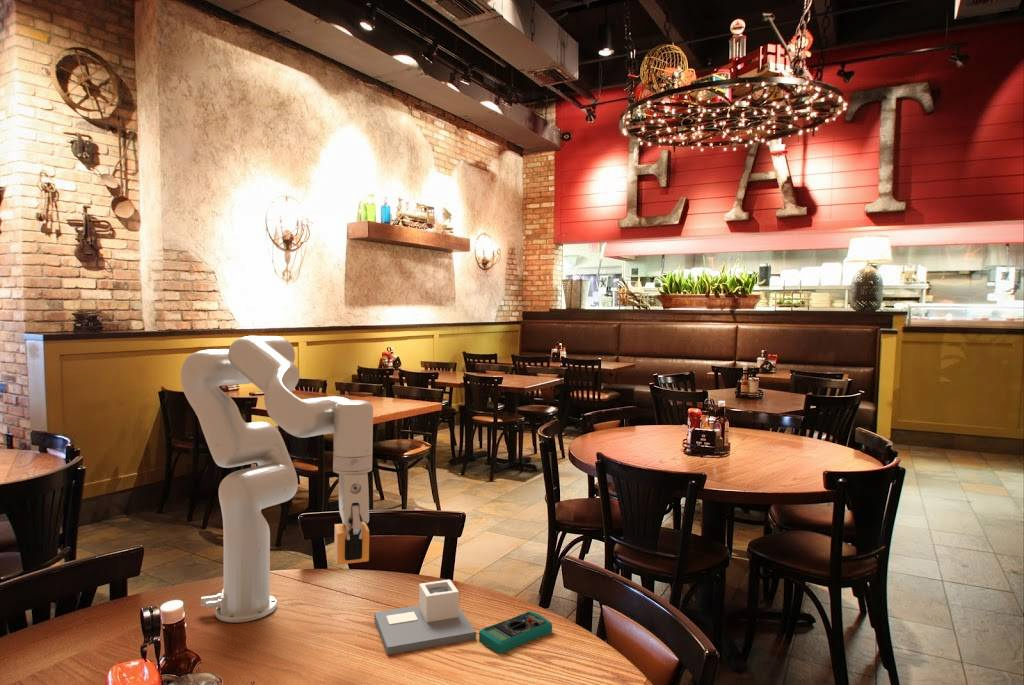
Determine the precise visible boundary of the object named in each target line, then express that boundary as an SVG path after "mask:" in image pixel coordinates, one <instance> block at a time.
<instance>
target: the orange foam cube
mask: <svg viewBox="0 0 1024 685" xmlns="http://www.w3.org/2000/svg"><path fill="white" fill-rule="evenodd" d="M361 523H362V524H361V527H362V558H361V559H356V560H345V539H347V531H346V525H345V524H342V523H334V540H333V542H334V543H333V544H334V548H333V550H334V552H333V554H334V558H335V562H336V565H345V564H354V563H363V562H365V563H366V562H369V560H370V530H369V526H368V524H367V523H365V522H363V521H361ZM351 529H352V526H351V527H350V530H351Z"/></svg>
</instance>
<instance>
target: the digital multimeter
mask: <svg viewBox="0 0 1024 685" xmlns="http://www.w3.org/2000/svg"><path fill="white" fill-rule="evenodd" d="M552 633H553V623H552V622H551V621H549V620H548V619H547V618H545V617H544V616H542V615H540V614H539V613H536V612H534V611H530V610H529V611H526V612H524V613H521V614H519V615H517V616H515V617H512V618H509V619H506V620H503V621H500V622H498V623H495V624H492V625H490V626H487V627H484V628H481V629H480V630H478V640H479V642H481V643H482V644H483V645H485V646H486V647H488V648H489V649H491V650H493V651H494V652H496V653H497V654H499V655H500V654H501V655H502V654H504V653H506V652H509V651H511V650H513V649H516V648H518V647H520V646H522V645H524V644H528V642H529V643H530V642H532V641H534V640H537V639H539V638H542V637H546V636H548V635H550V634H552Z"/></svg>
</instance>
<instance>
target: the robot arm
mask: <svg viewBox="0 0 1024 685" xmlns="http://www.w3.org/2000/svg"><path fill="white" fill-rule="evenodd" d="M295 360H296V351H295V348H294V346H293V345H292V343H291V342H290V341H289V340H288V339H286V338H284V337H282V336H278V335H248V336H247V335H246V336H243V337H242V336H241V337H239V338H238V339H236V340H234V341H233V342H232V343H231V344H230V345H229V348H222V349H221V348H219V349H218V348H213V349H204V350H198V351H196V352H193V353H191V354H189V355H188V356H187V357H186V358H185V359H184V361H183V363H182V365H181V370H180V384H181V389H182V392H183V393H184V395H185V398H186V399H187V401H188V403H189V405H190V406H191V408H192V410H193V411H194V412H195V415H196V416H197V418H198V421H199V424H200V427H201V431H202V433H203V435H204V438H205V441H206V443H207V446H208V449H209V452H210V454H211V456H212V459H213V462H214V463H215V464H216V465H217V466H218V467H220V468H226V469H230V468H237V467H241V466H245V465H251V464H257V466H252V467H247V468H241V469H239V470H236V471H233V472H231V473H229V474H227V475H226V476H225V477H224V478H223V479H222V480H221V481H220V483H219V487H218V499H219V500H218V501H219V505H220V511H221V515H222V527H223V531H222V532H223V538H222V539H223V540H222V541H223V573H222V575H223V580H222V581H223V588H222V590H221V592H217V593H216V595H203V596H201V597H200V607H203V606H205V609H206V610H207V609H212V608H215V617H216V618H217V619H218V620H220V621H221V622H226V623H247V622H250V621H251V622H252V621H255V620H259V619H261V618H264V617H267V616H268V615H270V614H272V613H273V612H274V611H275V610H276V609H277V606H278V601H277V599H276V597H275V596H273V595H271V592H270V588H271V586H270V585H271V576H270V574H271V573H270V572H271V570H270V569H271V568H270V567H271V530H270V525H269V523H268V522H267V519H266V518H265V517H264V515H263V513H262V510H263V509H266V508H269V507H272V506H276V505H279V504H282V503H286V502H288V501H290V500H291V499H292V498H293V497H294V496H295V495H296V494H297V491H298V486H299V482H298V475H297V472H296V469H295V466H294V464H293V462H292V459H291V456H290V454H289V452H288V449H287V446H286V443H285V441H284V439H283V437H282V434H281V432H280V431H279V429H278V428H277V427H276V426H275V425H274V424H272V423H270V422H267V421H261V420H260V421H253V422H246V421H245V420H244V419H243V417H242V415H241V412H240V409H239V407H238V405H237V404H236V402H235V401H234V399H232V397H231V396H230V395H228V394H227V393H226V392H225V391H223V390H222V389H221V388H220V387H223V386H234V385H235V386H236V385H249V384H253V385H254V386H256V388H258V389H259V390H260V391H261V392H263V393H264V395H263V402H264V406H265V409H266V411H267V414H268V416H269V418H270V419H271V420H272V421H273V422H274V423H275V424H276V425H278V426H279V427H280V428H282V430H283V431H285V432H286V433H288V435H289V434H290V435H292V436H293V437H296V438H302V439H303V438H304V439H305V438H310V437H316V436H321V435H322V436H323V435H329V434H333V446H332V447H333V451H332V455H333V456H332V457H333V458H332V459H333V460H332V467H333V468H332V472H333V473H336V474H338V509H339V511H338V513H339V515H340V518H341V521H342V522H341V524H345V525H346V531H347V539H345V560H356V559H361V558H362V527H361V524H362V523H361V522H365V523H366V524H368V523H369V521H370V496H369V495H370V494H369V493H370V492H369V490H370V489H369V476H368V473H369V472H371V471H372V470H373V442H374V441H373V440H374V439H373V438H374V429H373V428H374V407H373V404H372V402H369V401H367V400H363V399H362V400H361V399H349V398H347V397H343V396H339V395H338V396H337V395H333V396H322V397H320V396H319V397H313V398H311V397H310V398H303V399H302V398H300V397H298V396H297V395H295V394H294V393H293V390H294V389H295V388H296V387H297V385H298V383H299V380H300V370H299V368H298V366H297V365H296V364H295V363H294V362H295ZM351 526H352V529H351V530H350V527H351Z"/></svg>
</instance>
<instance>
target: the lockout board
mask: <svg viewBox="0 0 1024 685" xmlns="http://www.w3.org/2000/svg"><path fill="white" fill-rule="evenodd" d="M418 586H419V587H418V591H419V593H418V605H415V606H406V607H400V608H392V609H388V610H381V611H374V618H373V619H374V623H375V625H376V628H377V630H378V634H379V635H380V638H381V639H380V640H381V641H382V644H383V647H384V650H385V653H386V655H387V656H390V655H395V654H400V653H406V652H407V653H408V652H413V651H417V650H424V649H429V648H434V647H440V646H445V645H450V644H456V643H462V642H466V641H467V642H468V641H473V640H476V639H477V631H476V629H475V628H474V627H473V626H472V624H471V622H470V621H469V619H468V618H467V616H466V615H465V613H464V612H463V611H462V609H461V608H460V605H459V604H460V600H459V599H460V598H459V597H460V596H459V595H460V592H459V590H458V589H457V587H456V586H455V585H454V583H453V581H452V580H451V579H444V580H437V581H430V582H424V583H423V582H422V583H419V584H418ZM433 588H446V589H448V590H449V591H446V592H439V593H433V594H430V593H429V590H431V589H433Z"/></svg>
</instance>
